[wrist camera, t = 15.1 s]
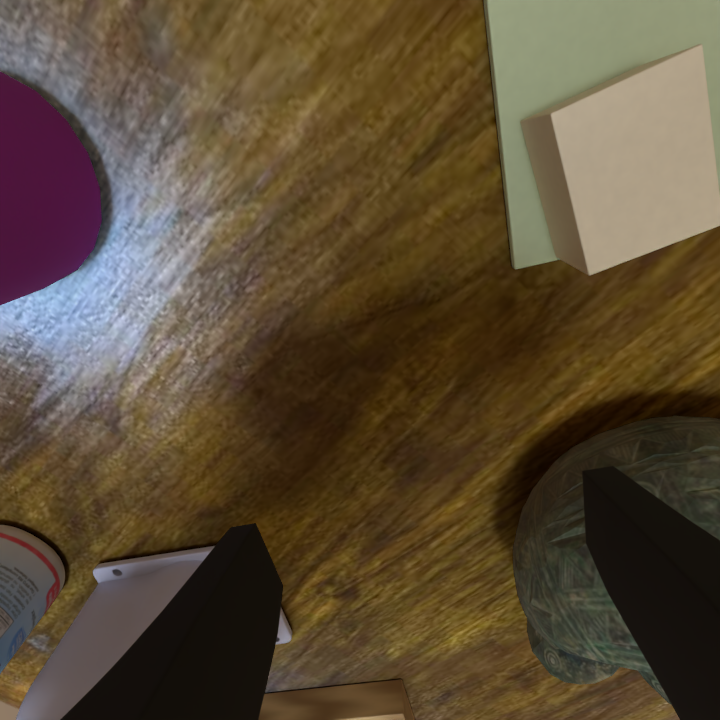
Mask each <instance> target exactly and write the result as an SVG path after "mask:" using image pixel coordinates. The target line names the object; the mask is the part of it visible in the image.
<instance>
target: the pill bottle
mask: <svg viewBox="0 0 720 720" xmlns="http://www.w3.org/2000/svg"><path fill="white" fill-rule="evenodd" d="M64 582H65V570H64V566H63V563H62V561H61V559H60V557H59V556H58V555H57V553H56V552H55V551H54V550H53V549H52V548H51V547H50V546H48V545H47V544H46V543H45V542H43V541H42V540H40V539H39V538H37V537H35V536H34V535H32V534H30V533H28V532H26V531H24V530H21V529H19V528H16V527H13V526H7V525H0V673H1V672H2V671H3V669H4V668H5V666H6V665H7V664H8V662H9V661H10V660H11V658H12V657H13V656H14V654H15V653H16V652H17V650H18V649H19V647H20V646H21V645H22V643H23V642H24V641H25V639H26V638H27V637H28V635H29V634H30V633H31V631H32V630H33V628H34V627H35V626H36V624H37V623H38V622H39V620H40V619H41V618H42V616H43V615H44V614H45V612H46V611H47V610H48V608H49V607H50V606H51V604H52V603H53V602H54V600H55V599H56V597H57V596H58V594H59V593H60V591H61V590H62V588H63V585H64Z"/></svg>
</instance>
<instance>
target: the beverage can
mask: <svg viewBox="0 0 720 720" xmlns="http://www.w3.org/2000/svg"><path fill="white" fill-rule="evenodd" d="M101 222H102V216H101V196H100V187H99V184H98V181H97V178H96V175H95V172H94V169H93V166H92V163H91V160H90V157H89V154H88V152H87V151H86V149H85V148H84V146H83V145H82V143H81V142H80V140H79V138H78V137H77V135H76V134H75V132H74V131H73V129H72V128H71V126H70V125H69V123H68V121H67V120H66V119H65V118H64V117H63V116H62V115H61V114H60V113H59V112H58V111H57V110H56V109H55V108H54V107H53V106H51V105H50V104H49V103H48V102H47V101H46V100H45V99H44V98H43V97H42V96H41V95H40V94H39V93H38V92H37V91H35V90H33V89H32V88H30V87H28V86H26V85H24V84H22V83H21V82H19V81H17V80H15V79H13V78H12V77H10V76H8V75H6V74H4V73H3V72H0V305H2V304H4V303H7V302H10V301H12V300H15V299H17V298H20V297H23V296H25V295H28V294H30V293H33V292H36V291H38V290H41V289H43V288H45V287H47V286H49V285H51V284H53V283H54V282H56V281H58V280H60V279H62V278H64V277H65V276H67V275H69V274H71V273H72V272H74V271H76V270H78V268H79V267H80V266H81V265H82V263H83V262H84V261H85V259H86V258H87V257H88V256H89V254H90V253H91V252H92V251H93V249H94V247H95V243H96V240H97V236H98V233H99V229H100V226H101Z"/></svg>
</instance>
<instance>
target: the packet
mask: <svg viewBox="0 0 720 720" xmlns="http://www.w3.org/2000/svg"><path fill="white" fill-rule="evenodd" d="M520 123H521V127H522V131H523V135H524V138H525V142H526V146H527V150H528V154H529V157H530V161H531V165H532V169H533V172H534V176H535V180H536V184H537V188H538V191H539V195H540V199H541V203H542V206H543V210H544V214H545V218H546V222H547V225H548V229H549V233H550V237H551V241H552V244H553V248H554V252H555V256H556V257H557V258H559V259H560V260H562V261H564V262H566V263H568V264H569V265H571V266H573V267H575V268H577V269H578V270H580V271H582V272H584V273H585V274H587V275H592V274H595V273H598V272H600V271H603V270H605V269H608V268H611V267H613V266H616V265H618V264H621V263H624V262H626V261H629V260H632V259H634V258H637V257H639V256H642V255H645V254H647V253H650V252H652V251H655V250H658V249H660V248H663V247H665V246H668V245H671V244H673V243H676V242H679V241H681V240H684V239H686V238H689V237H692V236H694V235H697V234H699V233H702V232H705V231H707V230H710V229H712V228H715V227H718V226H720V193H719V184H718V175H717V167H716V158H715V149H714V141H713V132H712V123H711V115H710V106H709V97H708V89H707V80H706V71H705V62H704V54H703V45H702V44H699V45H696V46H693V47H690V48H688V49H685V50H682V51H679V52H676V53H674V54H671V55H668V56H665V57H662V58H660V59H657V60H654V61H651V62H648V63H645V64H643V65H640V66H638V67H636V68H634V69H632V70H629V71H627V72H625V73H623V74H621V75H619V76H617V77H614V78H612V79H610V80H608V81H606V82H604V83H601V84H599V85H597V86H595V87H593V88H591V89H589V90H586V91H584V92H582V93H580V94H578V95H576V96H573V97H571V98H569V99H567V100H565V101H563V102H561V103H558V104H556V105H554V106H552V107H550V108H548V109H545V110H543V111H541V112H539V113H537V114H535V115H533V116H530V117H528V118H526V119H524V120H522V121H521V122H520Z"/></svg>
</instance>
